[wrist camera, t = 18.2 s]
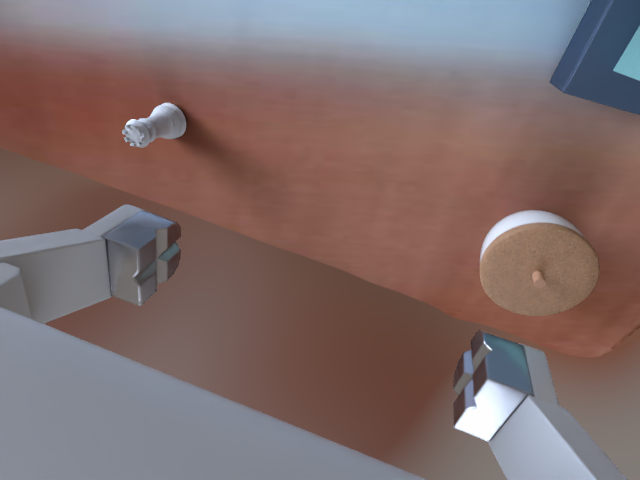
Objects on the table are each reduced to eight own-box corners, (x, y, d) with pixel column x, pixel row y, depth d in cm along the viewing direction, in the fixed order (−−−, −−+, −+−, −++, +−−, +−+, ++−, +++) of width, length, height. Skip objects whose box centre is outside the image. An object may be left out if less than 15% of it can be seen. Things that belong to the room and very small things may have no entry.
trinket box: (584, 192, 43) (614, 233, 35) (573, 277, 47) (597, 330, 39) (476, 197, 46) (481, 236, 38) (476, 276, 51) (480, 324, 43)
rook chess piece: (183, 143, 54) (144, 162, 47) (154, 125, 53) (111, 141, 47) (192, 114, 51) (153, 129, 44) (162, 95, 51) (118, 107, 44)
